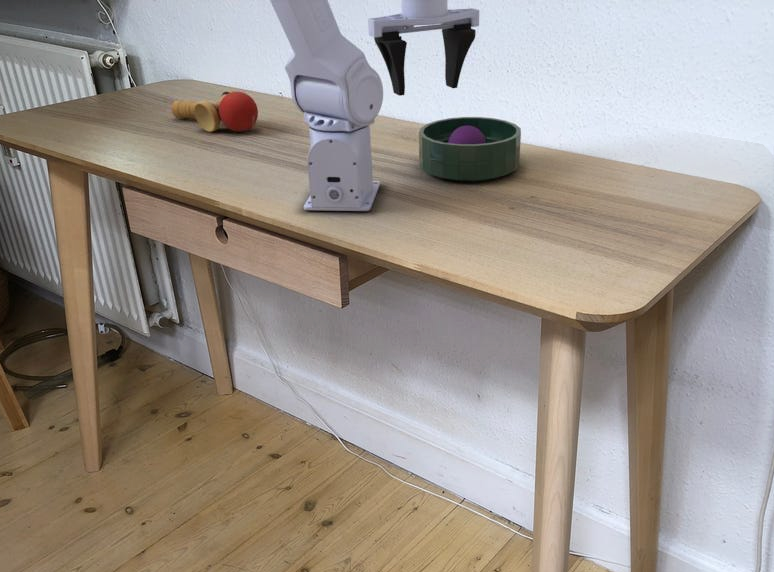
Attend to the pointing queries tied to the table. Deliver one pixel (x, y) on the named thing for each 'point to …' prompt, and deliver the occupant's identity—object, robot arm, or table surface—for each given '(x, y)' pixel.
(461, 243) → the table surface
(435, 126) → the bowl
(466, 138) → the ball
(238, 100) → the kendama
